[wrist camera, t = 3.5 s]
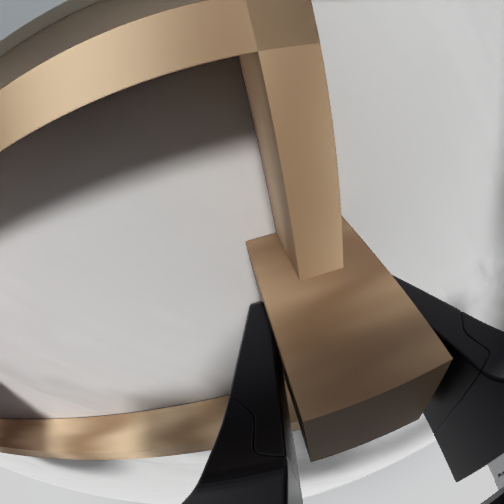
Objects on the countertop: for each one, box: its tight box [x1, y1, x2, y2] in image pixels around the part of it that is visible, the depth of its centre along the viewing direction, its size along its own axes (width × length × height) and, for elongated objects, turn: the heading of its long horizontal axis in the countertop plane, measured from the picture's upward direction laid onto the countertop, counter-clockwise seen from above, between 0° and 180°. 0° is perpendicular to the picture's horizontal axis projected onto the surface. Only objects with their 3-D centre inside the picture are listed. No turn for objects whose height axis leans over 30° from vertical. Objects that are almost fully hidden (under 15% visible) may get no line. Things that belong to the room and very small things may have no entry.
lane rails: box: [0, 0, 101, 56], centre depth 10 cm, size 32×22×1 cm
